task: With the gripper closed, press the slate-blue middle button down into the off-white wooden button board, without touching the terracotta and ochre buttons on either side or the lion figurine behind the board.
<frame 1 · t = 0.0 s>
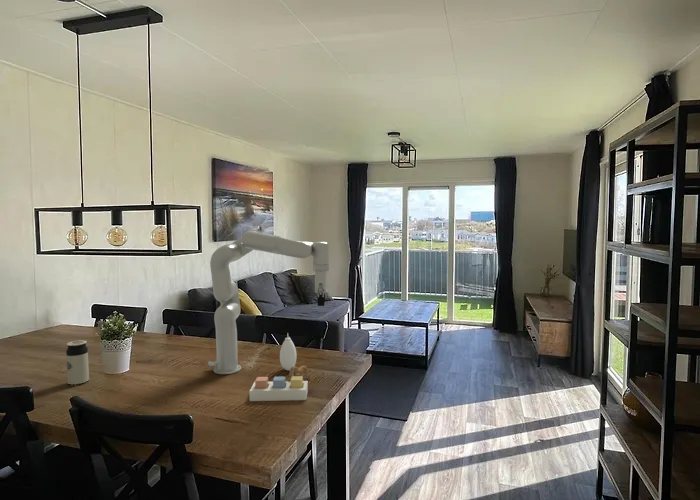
hand: (321, 303, 205), 31 cm above the table, tool pointing down, fingers open, 9 cm apart
ochre button: (296, 383, 174), point 5 cm above the table, slide at 0.0 cm
travel mug: (78, 383, 191), on the table
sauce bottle: (288, 370, 205), on the table
blue button: (279, 383, 174), point 5 cm above the table, slide at 0.0 cm
button board: (279, 395, 174), on the table
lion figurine: (299, 383, 188), on the table
terracotta button: (261, 383, 174), point 5 cm above the table, slide at 0.0 cm
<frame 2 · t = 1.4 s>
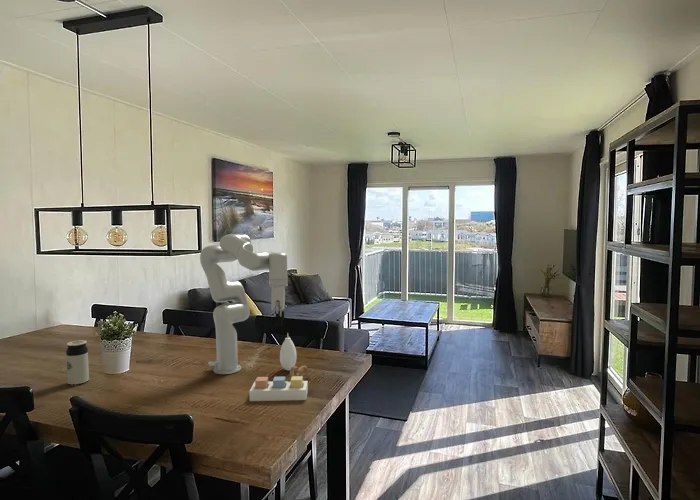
hand: (279, 323, 181), 28 cm above the table, tool pointing down, fingers open, 9 cm apart
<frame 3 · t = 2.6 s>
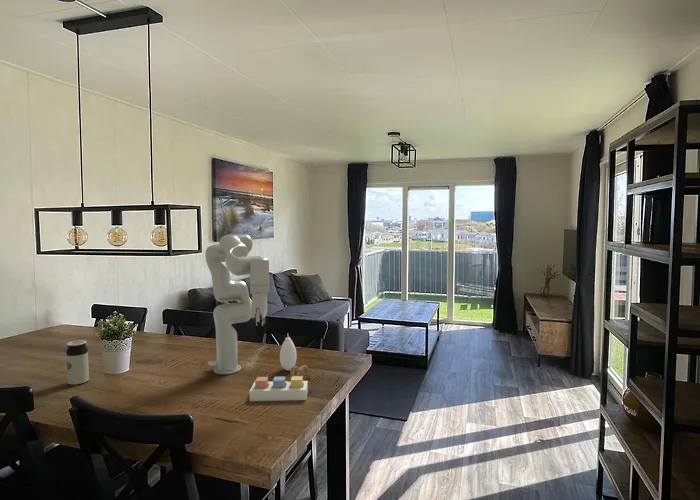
hand: (260, 334, 173), 25 cm above the table, tool pointing down, fingers closed
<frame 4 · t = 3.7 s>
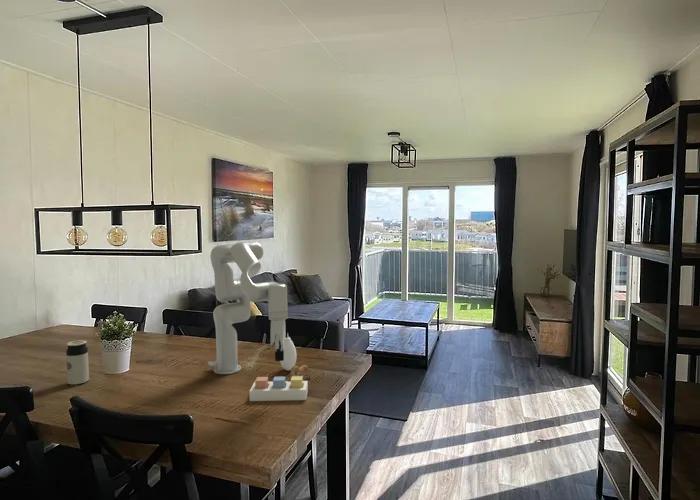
hand: (279, 360, 173), 15 cm above the table, tool pointing down, fingers closed
nothing on the table moved.
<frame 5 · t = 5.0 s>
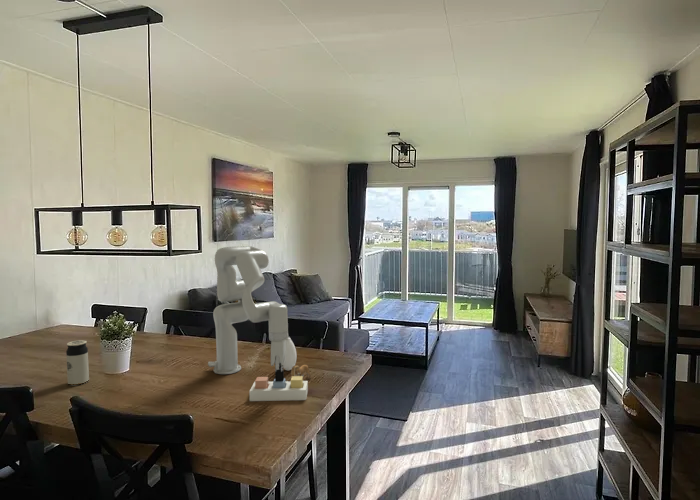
hand: (279, 380, 174), 6 cm above the table, tool pointing down, fingers closed
blue button: (279, 385, 174), point 4 cm above the table, slide at 0.8 cm, touching gripper
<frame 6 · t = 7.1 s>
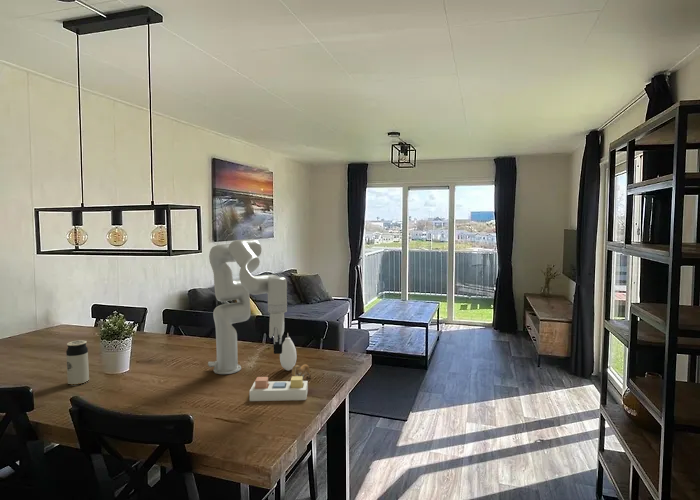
hand: (277, 353, 174), 17 cm above the table, tool pointing down, fingers closed
blue button: (279, 389, 174), point 3 cm above the table, slide at 2.3 cm
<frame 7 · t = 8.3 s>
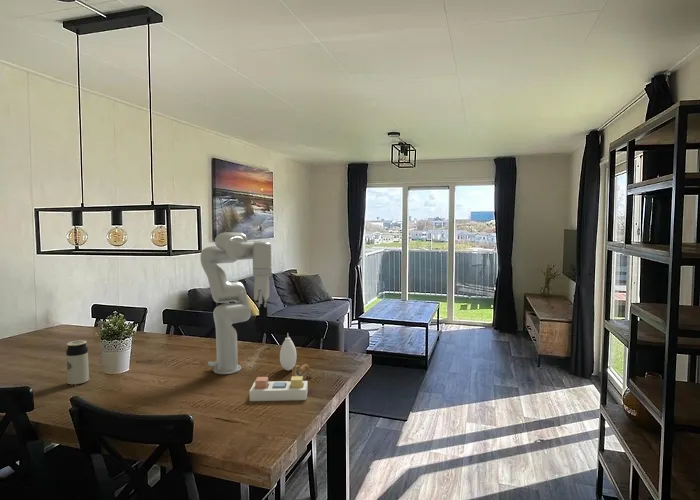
hand: (263, 316, 178), 31 cm above the table, tool pointing down, fingers closed
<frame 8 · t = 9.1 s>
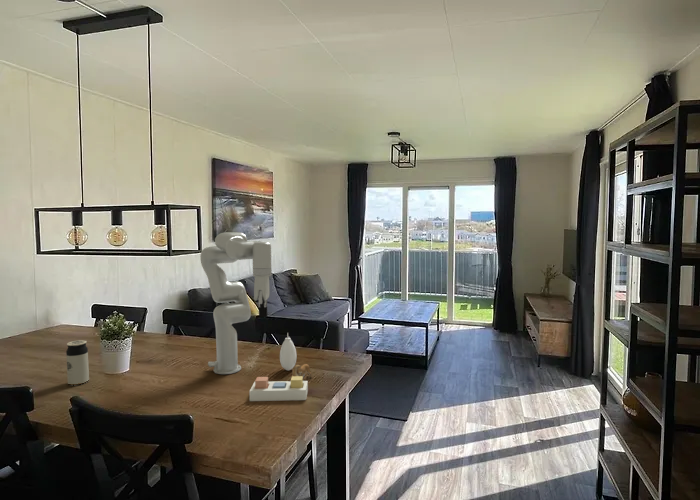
hand: (263, 316, 178), 31 cm above the table, tool pointing down, fingers closed
at the end: blue button slide at 2.3 cm; terracotta button slide at 0.0 cm; ochre button slide at 0.0 cm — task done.
